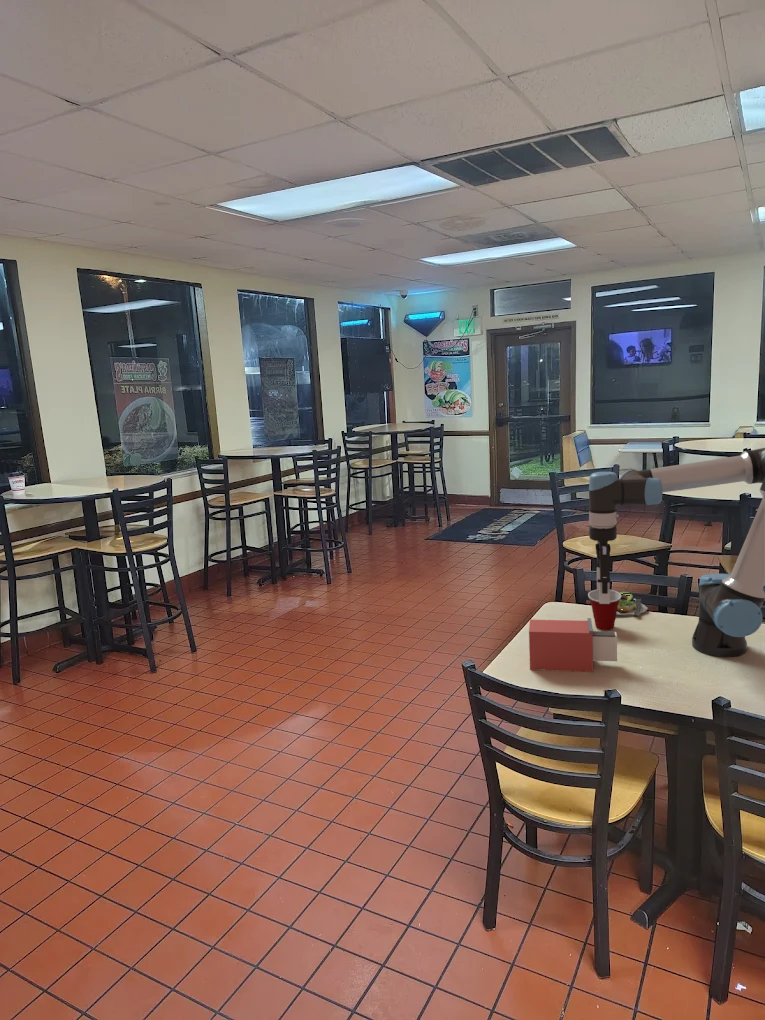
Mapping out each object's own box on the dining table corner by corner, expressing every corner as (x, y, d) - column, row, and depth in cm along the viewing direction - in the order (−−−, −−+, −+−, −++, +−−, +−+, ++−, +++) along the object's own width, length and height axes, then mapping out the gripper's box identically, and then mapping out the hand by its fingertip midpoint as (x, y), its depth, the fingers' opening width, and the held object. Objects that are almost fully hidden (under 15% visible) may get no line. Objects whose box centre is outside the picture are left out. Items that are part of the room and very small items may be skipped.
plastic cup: (588, 632, 226) (587, 598, 223) (588, 621, 236) (587, 588, 233) (622, 634, 222) (622, 599, 220) (620, 622, 233) (620, 589, 230)
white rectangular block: (553, 659, 202) (553, 634, 201) (553, 655, 205) (553, 630, 204) (617, 661, 198) (617, 635, 197) (616, 657, 201) (616, 631, 199)
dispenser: (530, 669, 201) (528, 629, 199) (530, 655, 211) (529, 616, 209) (593, 672, 197) (592, 630, 194) (591, 657, 207) (590, 618, 204)
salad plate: (660, 617, 235) (660, 605, 234) (610, 622, 234) (610, 609, 234) (636, 600, 254) (636, 588, 253) (589, 604, 253) (589, 592, 252)
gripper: (620, 535, 182) (620, 610, 186) (613, 516, 205) (613, 582, 209) (591, 536, 184) (591, 609, 188) (587, 516, 207) (587, 582, 211)
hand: (603, 595), depth 199 cm, fingers open, 13 cm apart
